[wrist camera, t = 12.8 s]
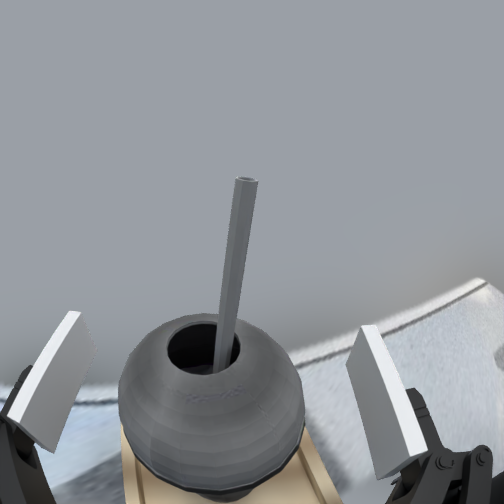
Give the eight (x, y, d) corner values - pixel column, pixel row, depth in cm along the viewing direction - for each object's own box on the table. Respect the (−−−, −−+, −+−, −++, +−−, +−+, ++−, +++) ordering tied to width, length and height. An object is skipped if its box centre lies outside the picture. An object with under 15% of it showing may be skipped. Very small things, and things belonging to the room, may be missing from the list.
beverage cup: (160, 451, 16) (54, 176, 7) (246, 425, 19) (263, 152, 10) (196, 530, 10) (-61, 351, 1) (291, 495, 13) (456, 229, 4)
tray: (341, 525, 11) (352, 522, 10) (148, 561, 7) (137, 562, 6) (281, 396, 23) (284, 382, 22) (129, 417, 19) (120, 403, 18)
